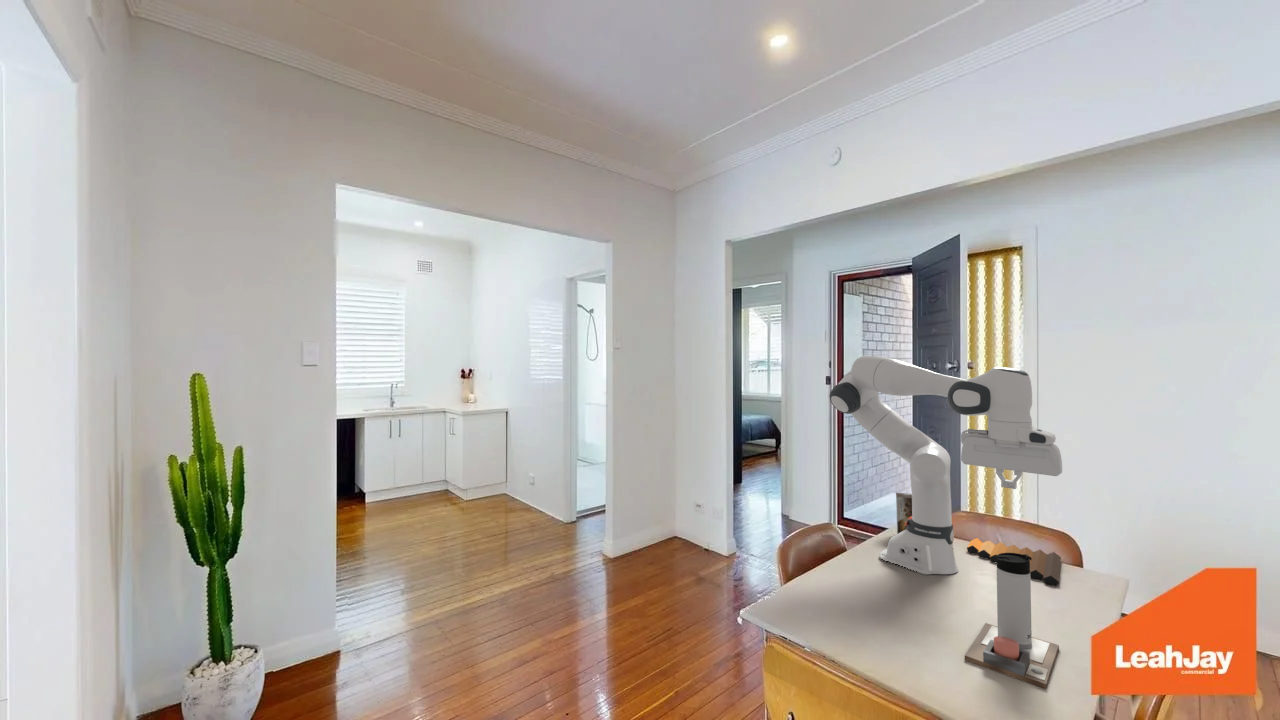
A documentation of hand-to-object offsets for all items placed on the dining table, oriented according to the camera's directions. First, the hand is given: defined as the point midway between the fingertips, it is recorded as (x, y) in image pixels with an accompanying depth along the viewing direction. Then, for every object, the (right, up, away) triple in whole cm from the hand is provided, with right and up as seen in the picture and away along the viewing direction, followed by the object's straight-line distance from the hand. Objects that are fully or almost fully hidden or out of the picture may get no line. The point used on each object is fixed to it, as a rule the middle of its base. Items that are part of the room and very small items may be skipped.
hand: (1008, 487), depth 124 cm
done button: (-13, -33, -17) cm, 39 cm away
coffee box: (+10, -36, +64) cm, 74 cm away
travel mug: (-6, -33, -10) cm, 35 cm away
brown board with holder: (-8, -34, -12) cm, 37 cm away
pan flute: (+30, -36, +39) cm, 61 cm away
